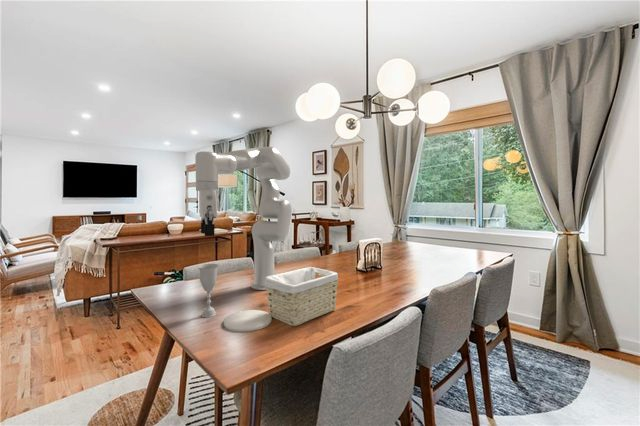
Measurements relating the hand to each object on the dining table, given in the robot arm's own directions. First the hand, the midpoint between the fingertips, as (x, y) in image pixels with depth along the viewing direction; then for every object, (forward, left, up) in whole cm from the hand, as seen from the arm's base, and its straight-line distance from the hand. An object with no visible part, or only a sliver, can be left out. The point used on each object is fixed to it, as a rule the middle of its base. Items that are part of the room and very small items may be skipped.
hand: (207, 234), depth 111 cm
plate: (-11, +13, -30) cm, 34 cm away
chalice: (0, 0, -30) cm, 30 cm away
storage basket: (-31, +14, -30) cm, 45 cm away
